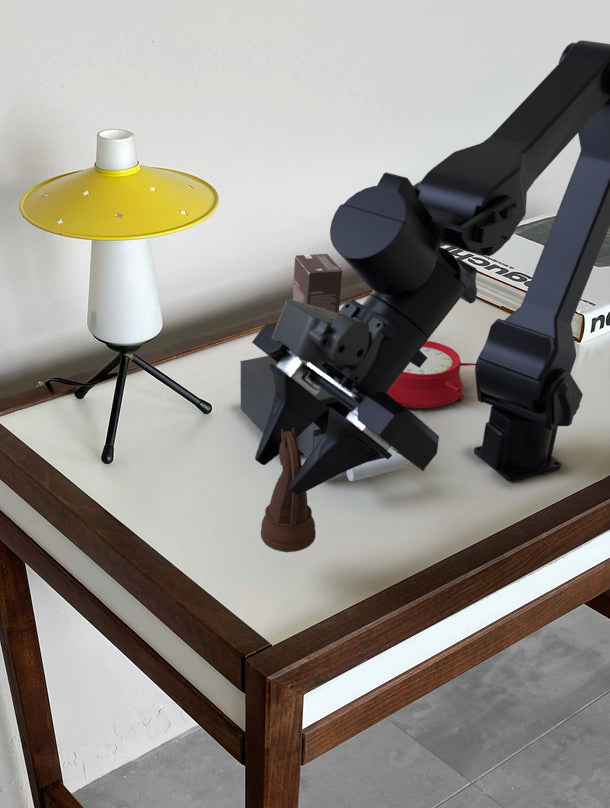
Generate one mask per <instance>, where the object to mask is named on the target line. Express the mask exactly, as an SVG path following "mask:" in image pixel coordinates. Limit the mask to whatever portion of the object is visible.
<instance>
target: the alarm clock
mask: <svg viewBox="0 0 610 808" xmlns="http://www.w3.org/2000/svg"><path fill="white" fill-rule="evenodd" d="M420 351H421V352H422V353H423V354H424V355H425V356H426V357H427V359H426V360H425V362H424V363H423V364H422V366H421V367H420V368H419V367H417V366H415V365H414V364H412V363H411V362H410V363H409V364H408V366H407V367H406V368H405V370H404V371H403V372H402V373H401V375H400V376H399V377H398V379H397V380H396V381H395V382H394V384H393V385H392V386H391V388H390V389H389V390H388V391H387V394H389V395H390V396H391V397H392V398H393V399H394V400H395V401H396V402H398V403H399V404H401V405H402V406H404V407H405V408H415V409H431V408H439V407H443V406H446V405H449V404H451V403H455V402H456V401H457V400H458V399H461V400H460V402H462V401H463V400H464V399H465V394H463V393H464V392H463V391H464V384H463V381H462V379H461V376H460V371H461V367H467V366H475V365H476V362H474V363H473V362H472V363H471V362H462V361H461V358H460V355H459V354H458V352H457V351H455V349H453V348H451V347H450V346H447V345H445V344H443V343H439V342H436V341H431V340H427V341H426V343H425V344H424V345H423V346H422V348H421V349H420Z"/></svg>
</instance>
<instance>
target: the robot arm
mask: <svg viewBox="0 0 610 808" xmlns="http://www.w3.org/2000/svg"><path fill="white" fill-rule="evenodd" d="M577 135H578V140H579V141H578V142H579V146H580V151H579V155H578V158H577V161H576V163H575V166H574V168H573V171H572V173H571V175H570V178H569V181H568V183H567V186H566V189H565V192H564V194H563V195H562V199H561V202H560V203H559V208H558V210H557V212H556V215H555V217H554V220H553V222H552V225H551V227H550V230H549V233H548V236H547V238H546V240H545V243H544V246H543V248H542V250H541V254H540V256H539V259H538V261H537V264H536V267H535V269H534V272H533V274H532V277H531V279H530V282H529V285H528V287H527V289H526V293H525V296H524V297H523V300H522V302H521V304H520V306H519V307H518V308H517V309H516V310H515V311H513V312H512V313H511V314H510V315H508V316H507V317H506V318H505V319H501V318H497V319H495V321H494V322H493V323H492V324H491V325H490V327H489V330H488V335H487V338H486V341H485V343H484V346H483V348H482V350H481V352H480V353H479V355H478V356H477V359H476V362H475V364H476V365H474V366H475V367H474V376H475V377H474V378H475V387H476V396H477V397H476V398H477V402H480V403H482V404H484V403H485V404H487V405H490V412H489V418H488V421H487V422H486V423H485V425H484V432H483V437H482V444H481V445H479V446H476V447H474V449H473V454H474V455H475V456H477V457H478V458H479V459H481V460H482V461H483V462H484V463H485V464H486V465H488V466H489V467H490V468H491V469H493V470H494V471H495V472H496V473H497V474H499V475H500V476H501V477H502V478H503V479H505V480H506V481H508V482H510V483H511V482H517V481H520V480H521V481H522V480H524V479H529V478H532V477H535V476H539V475H544V474H547V473H552V472H555V471H559V470H561V469H562V464H563V463H562V462H561V461H559V460H557V459H556V458H555V457H554V456H553V452H554V448H555V443H556V438H557V432H558V428H559V427H569V426H571V425H572V424H573V421H574V420H573V419H574V416H576V414H577V413H578V411H579V409H580V405H581V402H582V399H583V392H582V390H581V389H580V387H579V386H578V384H577V382H576V381H575V379H574V377H573V375H572V371H573V367H574V364H575V362H576V359H577V351H576V344H575V339H574V332H573V327H572V322H573V319H574V316H575V314H576V311H577V309H578V306H579V303H580V301H581V298H582V296H583V294H584V292H585V289H586V286H587V284H588V281H589V279H590V277H591V274H592V272H593V269H594V266H595V264H596V261H597V259H598V257H599V254H600V253H601V252H600V251H601V249H602V247H603V244H604V241H605V239H606V237H607V234H608V232H609V229H610V43H606V42H598V41H592V40H584V39H582V40H581V39H580V40H578V41H576V42H570V43H569V44H568V45H566V47H565V48H564V50H563V51H562V53H561V55H560V58H559V60H558V64H557V65H556V66H555V67H554V68H553V69H552V70H551V71H550V72H549V73H548V74H547V75H546V77H544V78H543V80H541V82H540V83H539V84H538V85H537V86H536V87H535V88H534V89H533V90H532V91H531V93H529V95H527V97H526V98H525V99H524V100H523V101H522V102H521V103H520V104H519V105H518V106H517V107H516V109H514V110H513V112H512V113H511V114H510V115H509V116H508V117H507V118H506V119H505V120H504V121H503V122H502V123H501V124H500V125H499V126H498V127H497V128H496V129H495V131H494V132H493V133H492V134H491V135H490V136H488V137H487V138H486V139H485V140H483V141H482V142H480V143H476V144H474V145H471V146H468V147H465V148H461V149H459V150H455V151H454V152H452V153H451V154H450V155H448V156H446V158H444V159H443V160H441V161H440V162H439V163H438V164H436V165H435V166H433V167H432V168H431V169H430V170H429V171H428V172H427V173H426V174H425V175H424V176H423V177H422V179H421V180H420V181H418V182H416V183H415V184H413V183H412V182H411V181H410V179H409V178H408V177H406V176H403V175H398V174H395V173H391V172H387V171H385V172H383V174H382V176H381V177H380V179H379V181H378V183H377V185H372V186H369V187H366V188H364V189H361V190H359V191H357V192H355V193H354V194H353V195H351V196H350V197H349V198H347V200H346V201H345V202H344V203H342V204H340V205H339V206H338V207H337V209H336V211H335V212H334V214H333V217H332V220H331V222H330V228H329V236H330V241H331V244H332V247H333V248H334V249H335V251H336V252H337V254H339V255H340V256H341V258H342V259H344V260H345V262H346V263H347V264H348V265H349V266H350V268H352V270H353V271H354V272H355V273H356V274H357V275H358V276H359V278H361V280H362V281H363V282H364V283H365V284H366V285H367V286H368V287H369V289H371V290H372V291H371V292H370V293H369V295H368V296H367V298H365V300H364V301H363V303H360V302H358V301H357V300H356V299H355V300H354V299H353V298H351V300H350V301H346V303H344V304H343V306H342V307H341V309H339V312H338V313H335V312H332V311H329V310H326V309H324V308H320V307H317V306H313V305H309V304H306V303H302V302H298V301H295V300H293V299H290V298H287V299H286V301H285V303H284V306H283V307H282V311H281V313H280V316H279V318H278V320H277V321H273V322H269V323H266V324H264V325H263V327H262V328H260V331H259V332H258V333H257V335H256V336H255V337H254V338H253V340H252V342H251V343H252V344H253V345H254V346H256V347H257V348H258V349H259V350H261V351H262V352H263V353H264V354H266V356H270V357H271V358H272V359H273V360H275V361H276V362H277V363H278V364H277V365H276V366H275V365H273V364H272V363H271V362H270V363H269V369H270V370H271V371H272V373H273V378H274V385H275V397H274V401H273V405H272V408H271V412H270V415H269V418H268V421H267V424H266V427H265V430H264V433H262V434H261V439H260V442H259V445H258V448H257V450H256V452H255V453H256V454H255V456H254V459H255V461H256V462H257V463H259V464H260V465H262V466H266V465H268V463H270V462H271V461H273V460H274V459H275V458H276V457H278V456H279V448H280V444H281V442H282V434H281V429H283V432H287V431H290V432H291V433H292V434H293V432H292V428H294V431H295V436H296V438H297V437H298V436H299V435H300V434H301V433H302V432H303V431H304V430H305V429H306V428H308V427H309V426H310V425H311V424H312V423H313V422H314V421H315V420H316V419H317V418H318V417H319V416H320V415H322V414H323V413H324V412H325V411H326V410H327V409H328V407H327V406H326V405H325V404H324V403H322V402H321V401H320V400H319V399H317V398H316V396H317V394H318V393H319V392H320V388H322V389H323V390H325V391H326V392H327V393H329V394H330V395H332V396H333V397H334V398H336V399H337V400H338V401H340V402H341V403H343V404H344V405H345V406H347V407H348V408H349V409H351V410H352V411H350V412H349V414H348V415H347V416H346V418H345V417H343V416H342V415H341V414H339V413H338V412H337V411H335V410H334V409H333V408H331V407H330V409H329V416H328V425H327V431H326V433H325V435H324V436H323V437H322V439H321V440H320V442H319V443H318V444H317V446H316V447H315V448H314V450H313V451H312V453H311V454H310V455H309V457H308V458H307V457H306V459H305V460H304V462H303V463H302V466H301V468H300V469H299V471H298V472H297V474H296V475H295V477H294V479H293V480H292V482H291V484H290V486H289V490H290V491H291V492H292V493H294V494H295V495H300V494H302V493H304V492H306V493H307V492H308V491H310V490H312V489H314V488H316V487H317V486H320V485H321V484H323V483H325V482H327V481H329V480H331V479H333V478H335V477H338V476H339V475H341V474H343V473H345V471H347V470H349V469H352V468H354V467H357V466H359V465H361V464H364V463H366V462H369V461H371V460H374V459H376V458H379V457H385V458H386V459H387V460H388V459H389V458H390V457H391V456H392V454H390V453H389V452H388V449H389V448H390V447H391V448H392V449H393V450H395V451H396V453H397V454H400V455H402V456H403V457H404V458H406V459H407V460H408V462H409V463H410V464H412V465H413V466H415V467H417V469H419V470H421V471H422V472H424V471H425V469H426V468H427V467H428V465H429V464H430V463H431V462H432V461H433V459H434V458H435V457H436V456H437V454H438V449H439V441H440V436H439V435H438V433H436V432H435V431H434V430H433V429H432V428H431V427H429V426H428V424H426V423H425V422H423V420H421V419H420V418H419V417H418V416H417V415H416V414H415V413H413V412H412V411H411V410H410V409H408V407H406V406H402V405H401V404H399V403H398V402H396V401H395V400H394V399H393V398H392V397H391V396H390V395H389V394H387V391H388V390H389V389H390V388H391V386H392V385H393V384H394V382H395V381H396V380H397V379H398V377H399V376H400V375H401V373H402V372H403V371H404V370H405V368H406V367H407V366H408V364H409V363H410V362H411V363H412V364H414V365H415V366H417V367H419V368H420V367H421V366H422V364H423V363H424V362H425V360H426V359H427V357H426V356H425V355H424V354H423V353H422V352H421V351H420V349H421V348H422V346H423V345H424V344H425V343H426V341H428V340H429V339H430V338H431V336H432V335H433V334H434V333H435V331H436V330H437V329H438V327H439V326H440V325H441V324H442V322H443V321H444V320H445V318H446V317H447V316H448V314H449V313H450V312H451V311H452V309H454V307H455V306H456V304H457V303H458V302H459V301H460V299H461V300H463V301H465V302H467V303H468V304H474V303H475V302H476V300H477V295H478V288H477V281H476V280H477V279H476V277H477V273H478V269H477V268H476V267H475V266H473V265H471V264H470V263H468V262H466V261H465V260H462V259H460V258H457V257H456V256H455V255H453V253H452V252H451V251H449V250H447V249H446V248H444V247H441V245H444V246H447V247H449V248H450V247H451V248H454V249H458V250H460V251H463V252H468V253H471V254H474V255H477V256H482V257H491V256H493V255H495V254H496V253H497V252H498V251H500V250H501V249H502V248H503V247H504V245H505V244H507V243H508V241H510V240H511V238H512V236H513V235H514V234H515V231H516V229H517V228H518V226H519V225H520V224H521V222H522V220H523V219H524V218H525V216H526V213H527V199H528V198H527V196H528V195H527V194H528V191H529V190H530V188H531V187H532V186H533V184H534V182H535V181H536V180H537V179H538V178H539V177H540V176H541V174H542V173H544V171H545V170H546V169H547V168H548V167H549V166H550V165H551V164H552V163H553V161H554V160H556V158H557V157H558V156H559V154H561V153H562V151H563V150H564V149H565V148H566V147H567V146H568V145H569V144H570V143H571V142H572V141H573V139H574V138H575V137H576V136H577ZM335 377H336V378H337V379H339V380H340V381H339V383H338V382H336V381H335V380H334V378H335ZM353 388H355V389H356V390H357V391H358V392H359V393H358V394H357V396H356V395H355V394H353V393H352V392H351V391H352V390H353Z"/></svg>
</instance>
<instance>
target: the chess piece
mask: <svg viewBox="0 0 610 808" xmlns="http://www.w3.org/2000/svg"><path fill="white" fill-rule="evenodd" d="M292 432H293V434H292V433H291V432H290V431H287V432H283V429H281V434H282V442H281V444H280V448H279V455H278V457H279V463H280V466H281V467H282V471H281V473H280V475H279V477H278V479H277V481H276V483H275V486H274V489H273V491H272V493H271V496H270V497H271V498H270V501H269V504H268V505H267V506H266V507H265V510H264V516H263V518H262V520H261V523H260V524H261V527H260V538H261V541H262V542H263V543H264V545H266V546H267V547H268V548H269V549H272V550H274V551H276V552H277V551H278V552H280V553H281V552H282V553H295V552H296V553H297V552H301V551H303V550H305V549H307V548H309V547H310V546H312V544H313V543H314V542H315V540H316V537H317V536H316V534H317V533H316V523H315V520H314V517H313V516H312V514H313V511H312V508H311V507H310V505H309V504H308V495H307V491H306V492H304V493H302V494H300V495H295V494H294V493H292V492H291V491H290V490H289V486H290V484H291V482H292V480H293V479H294V477H295V475H296V474H297V472H298V471H299V469H300V468H301V466H302V465H303V463H302V457H301V453H300V451H299V448H298V446H297V442H296V436H295V431H294V428H292Z"/></svg>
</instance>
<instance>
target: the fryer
mask: <svg viewBox="0 0 610 808" xmlns="http://www.w3.org/2000/svg"><path fill="white" fill-rule="evenodd" d="M270 362H271V363H272V364H273V365H275V366H276V365H277V364H278V363H277V362H276V361H275V360H273V359H272V358H271V357H270V356H268V355H264V356H259V357H253V358H249V359H244V360H241V361H240V410H241V411H242V412H243V413H244V414H245V416H247V418H249V420H250V421H251V422H252V423H253V424H254V425H255V426H256V427H257V428H258V430H260V432H261V433H262V434H263V433H264V430H265V427H266V424H267V421H268V418H269V415H270V412H271V408H272V405H273V401H274V397H275V385H274V378H273V373H272V371H271V370H270V369H269V363H270ZM334 380H335V381H336V382H338V383H339V381H340V380H339V379H337V378H336V377H335V378H334ZM351 392H352V393H353V394H355V395H356V396H357V394H358V393H359V392H358V391H357V390H356V389H355V388H353V390H352V391H351ZM316 398H317V399H319V400H320V401H321V402H322V403H324V404H330V403H334V402H339V401H338V400H337V399H336V398H334V397H333V396H332V395H330V394H329V393H327V392H326V391H325V390H323V389H322V388H320V392H319V393H318V394H317V396H316ZM299 451H300V450H299ZM300 454H303V453H302V452H301V451H300Z"/></svg>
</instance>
